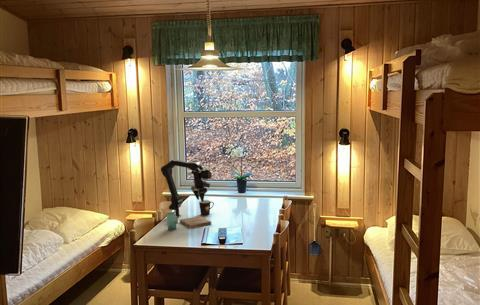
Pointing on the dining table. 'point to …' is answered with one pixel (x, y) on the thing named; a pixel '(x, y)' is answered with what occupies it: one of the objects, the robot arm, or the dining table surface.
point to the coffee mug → (205, 207)
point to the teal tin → (171, 220)
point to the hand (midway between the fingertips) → (200, 200)
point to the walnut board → (195, 222)
